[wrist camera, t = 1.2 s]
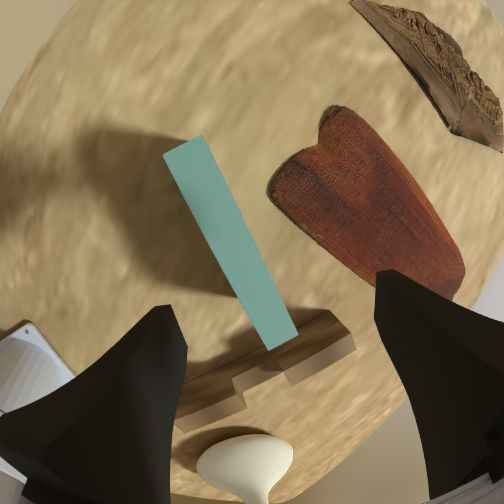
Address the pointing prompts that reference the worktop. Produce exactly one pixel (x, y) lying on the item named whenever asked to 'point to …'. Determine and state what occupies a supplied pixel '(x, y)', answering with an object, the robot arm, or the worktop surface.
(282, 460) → the flower in vase
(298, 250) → the worktop surface
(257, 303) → the teal arch block
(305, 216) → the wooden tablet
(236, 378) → the brown wooden bar
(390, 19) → the wooden fragment
